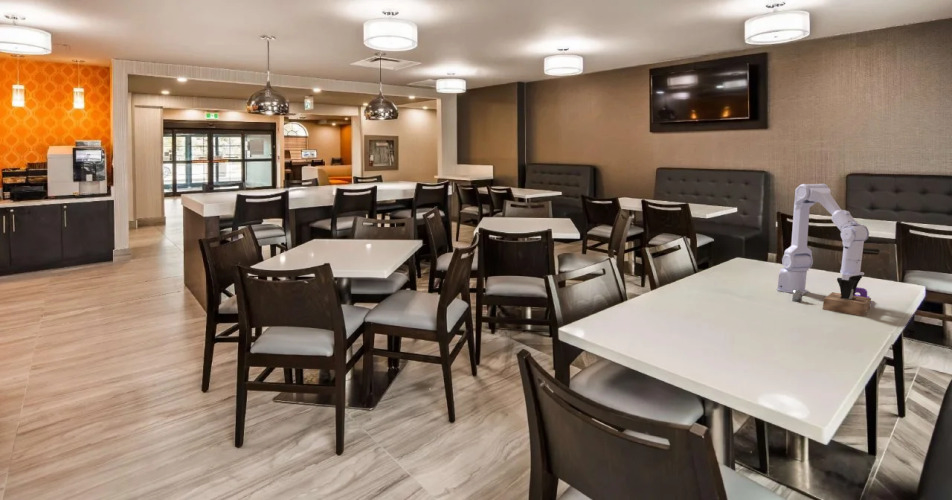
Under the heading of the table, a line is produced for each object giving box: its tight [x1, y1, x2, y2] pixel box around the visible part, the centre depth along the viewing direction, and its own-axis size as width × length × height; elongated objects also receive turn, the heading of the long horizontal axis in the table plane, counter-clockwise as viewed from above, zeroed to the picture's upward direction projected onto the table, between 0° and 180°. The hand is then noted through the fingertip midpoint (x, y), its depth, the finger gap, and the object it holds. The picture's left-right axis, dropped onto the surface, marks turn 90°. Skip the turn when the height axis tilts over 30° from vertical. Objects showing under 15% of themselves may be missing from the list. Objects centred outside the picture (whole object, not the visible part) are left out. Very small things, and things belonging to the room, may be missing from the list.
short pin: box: [791, 290, 804, 303], centre depth 210 cm, size 3×3×4 cm
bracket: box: [854, 286, 871, 298], centre depth 207 cm, size 12×7×7 cm, turn 139°
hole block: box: [822, 292, 872, 317], centre depth 198 cm, size 12×12×4 cm
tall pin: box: [842, 289, 853, 300], centre depth 198 cm, size 3×3×8 cm
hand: (847, 296), depth 198 cm, fingers open, 7 cm apart
